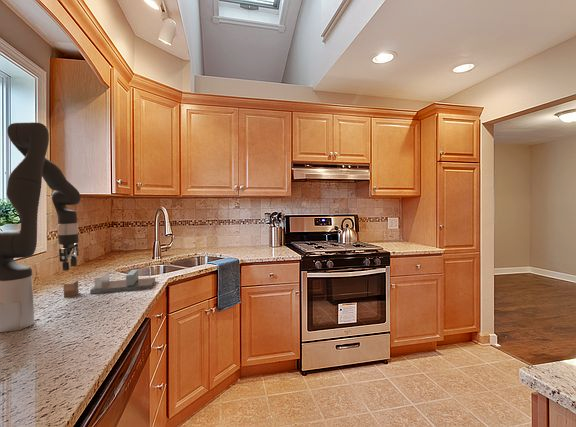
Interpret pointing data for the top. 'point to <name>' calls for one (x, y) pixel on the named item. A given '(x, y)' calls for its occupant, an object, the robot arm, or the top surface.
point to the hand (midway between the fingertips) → (70, 268)
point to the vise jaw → (131, 277)
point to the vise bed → (118, 284)
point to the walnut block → (70, 288)
